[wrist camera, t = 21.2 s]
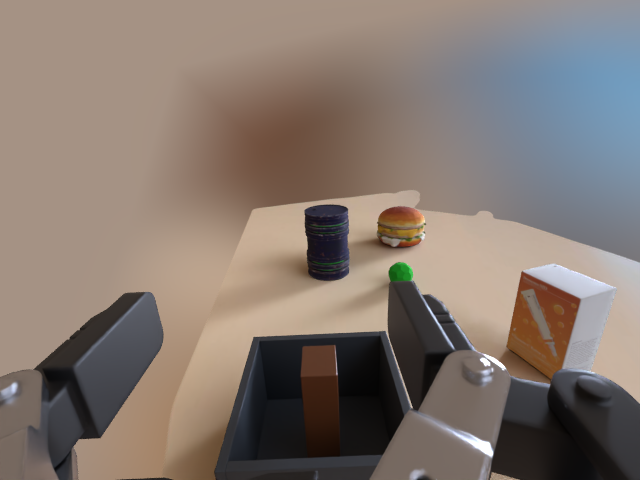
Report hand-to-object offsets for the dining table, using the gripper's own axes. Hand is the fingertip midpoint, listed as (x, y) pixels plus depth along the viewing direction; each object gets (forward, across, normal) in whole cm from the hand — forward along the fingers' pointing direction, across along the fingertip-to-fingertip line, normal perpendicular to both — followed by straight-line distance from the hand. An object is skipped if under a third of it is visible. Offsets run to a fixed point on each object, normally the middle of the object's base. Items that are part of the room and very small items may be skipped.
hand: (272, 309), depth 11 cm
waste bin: (+14, -1, +28) cm, 31 cm away
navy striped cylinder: (+59, -3, +28) cm, 66 cm away
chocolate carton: (+14, -1, +27) cm, 30 cm away
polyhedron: (+51, -18, +28) cm, 61 cm away
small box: (+27, -33, +28) cm, 51 cm away
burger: (+76, -24, +28) cm, 85 cm away
